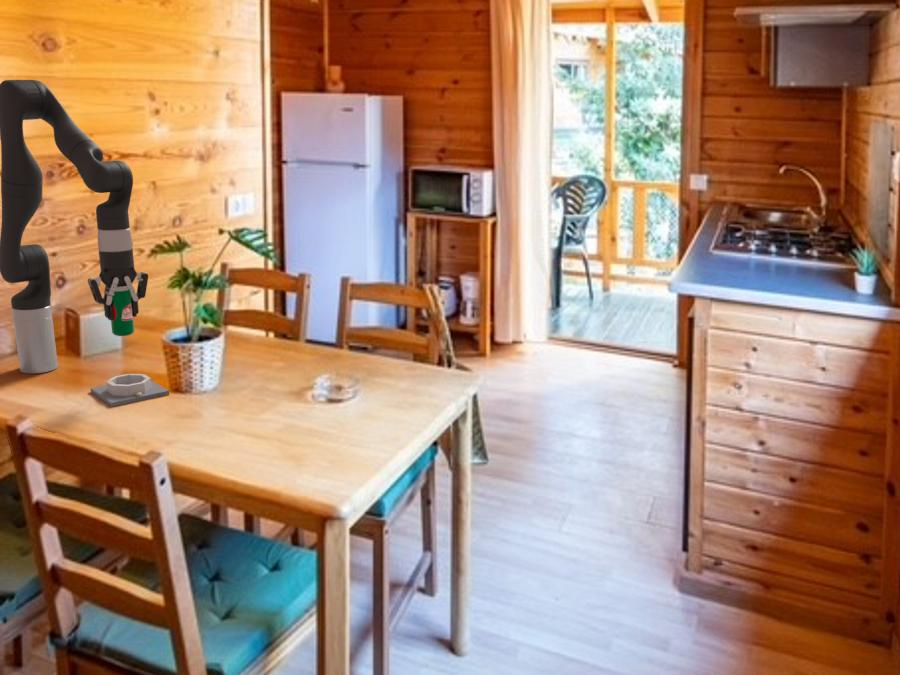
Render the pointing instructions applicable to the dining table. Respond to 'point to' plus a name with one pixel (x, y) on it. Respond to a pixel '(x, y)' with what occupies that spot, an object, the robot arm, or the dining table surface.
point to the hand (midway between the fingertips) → (122, 317)
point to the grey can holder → (129, 389)
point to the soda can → (122, 312)
